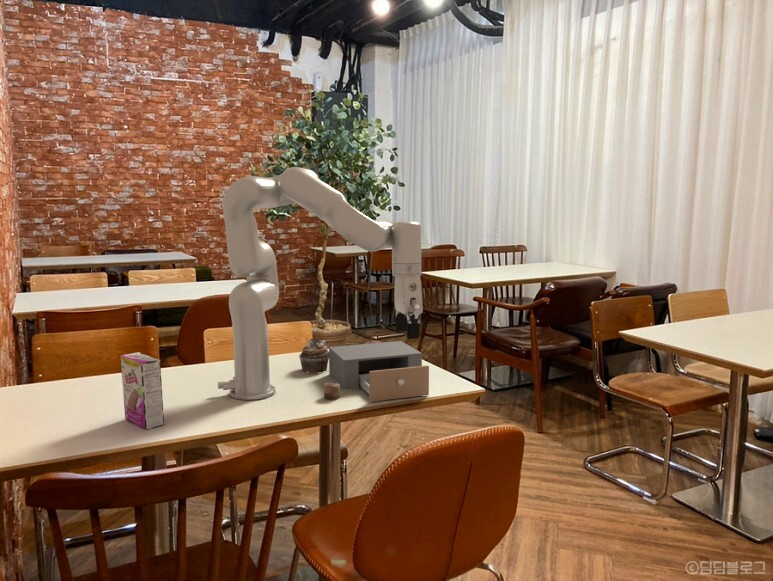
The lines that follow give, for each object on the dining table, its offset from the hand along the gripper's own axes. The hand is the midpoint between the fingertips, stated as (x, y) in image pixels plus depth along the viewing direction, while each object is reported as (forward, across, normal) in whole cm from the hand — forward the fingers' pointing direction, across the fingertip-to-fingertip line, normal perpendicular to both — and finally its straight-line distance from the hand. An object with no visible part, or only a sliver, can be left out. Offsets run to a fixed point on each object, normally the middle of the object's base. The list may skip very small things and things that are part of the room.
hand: (407, 334), depth 158 cm
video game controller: (+19, +50, -4) cm, 53 cm away
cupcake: (+19, +40, +18) cm, 48 cm away
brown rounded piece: (+19, +11, +18) cm, 28 cm away
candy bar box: (+18, +5, +66) cm, 69 cm away
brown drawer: (+18, +12, +1) cm, 22 cm away
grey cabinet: (+19, +25, +2) cm, 32 cm away
